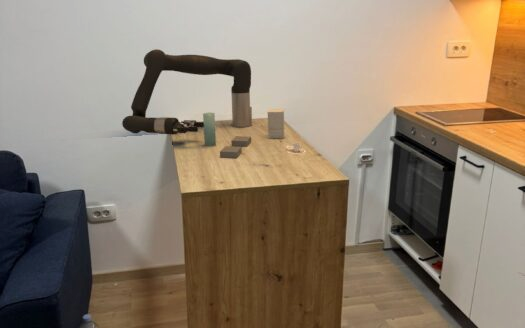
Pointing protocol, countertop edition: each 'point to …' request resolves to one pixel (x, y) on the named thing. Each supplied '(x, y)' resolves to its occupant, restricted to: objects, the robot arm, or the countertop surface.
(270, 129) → the supplement box
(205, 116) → the teal green tall block
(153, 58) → the robot arm
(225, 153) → the rectangular blocks
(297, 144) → the teacup and saucer
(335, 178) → the countertop surface
